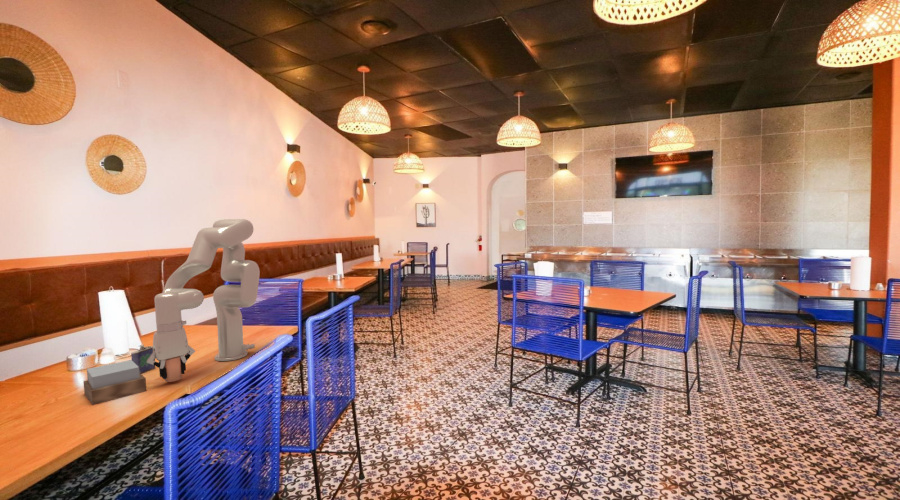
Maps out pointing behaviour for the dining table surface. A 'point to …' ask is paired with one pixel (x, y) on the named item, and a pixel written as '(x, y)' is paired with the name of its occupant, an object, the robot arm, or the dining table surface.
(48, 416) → the dining table surface
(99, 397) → the bottom block
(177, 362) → the brown rectangular block
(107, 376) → the top block
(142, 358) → the dark panel with clover
